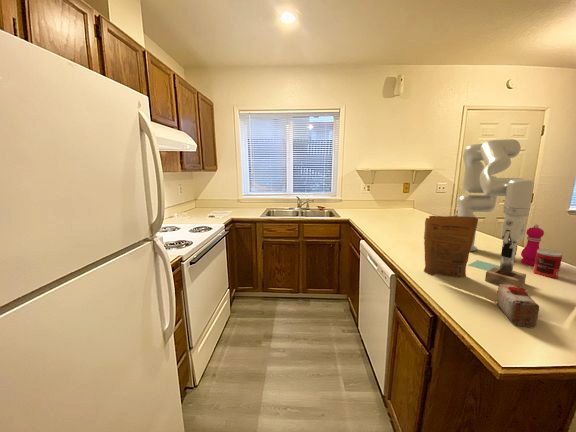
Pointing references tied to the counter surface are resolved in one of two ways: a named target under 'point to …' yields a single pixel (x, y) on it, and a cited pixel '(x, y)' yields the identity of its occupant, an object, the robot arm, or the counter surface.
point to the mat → (483, 265)
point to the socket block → (505, 277)
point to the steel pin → (508, 260)
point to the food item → (517, 305)
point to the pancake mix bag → (448, 244)
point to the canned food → (547, 263)
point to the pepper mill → (532, 245)
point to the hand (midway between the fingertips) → (508, 255)
